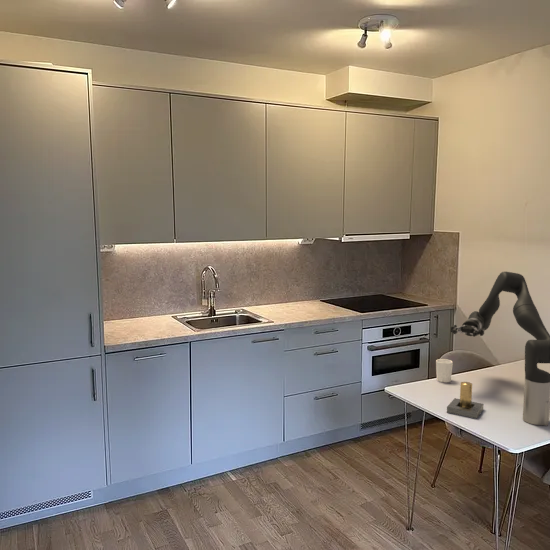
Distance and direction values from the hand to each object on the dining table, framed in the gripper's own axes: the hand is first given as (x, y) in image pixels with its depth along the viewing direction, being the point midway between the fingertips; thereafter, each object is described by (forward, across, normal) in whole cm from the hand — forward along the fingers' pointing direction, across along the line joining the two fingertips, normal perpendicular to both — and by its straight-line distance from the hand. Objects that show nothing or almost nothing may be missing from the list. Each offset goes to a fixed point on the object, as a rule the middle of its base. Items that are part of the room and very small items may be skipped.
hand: (464, 333), depth 226 cm
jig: (+18, +6, +29) cm, 35 cm away
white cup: (-17, -13, +29) cm, 36 cm away
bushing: (+18, +6, +29) cm, 35 cm away
